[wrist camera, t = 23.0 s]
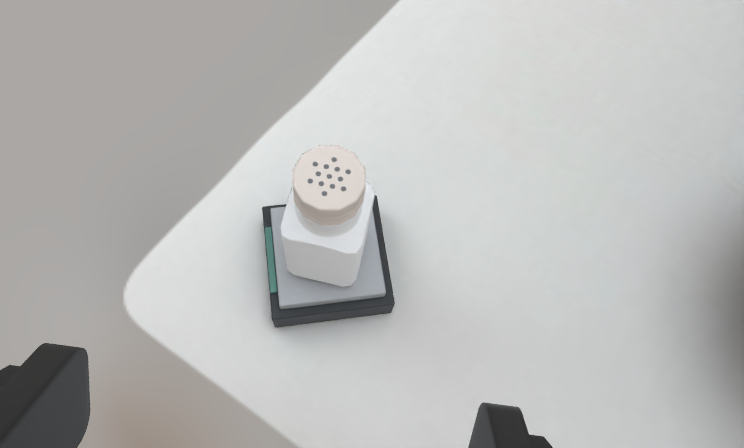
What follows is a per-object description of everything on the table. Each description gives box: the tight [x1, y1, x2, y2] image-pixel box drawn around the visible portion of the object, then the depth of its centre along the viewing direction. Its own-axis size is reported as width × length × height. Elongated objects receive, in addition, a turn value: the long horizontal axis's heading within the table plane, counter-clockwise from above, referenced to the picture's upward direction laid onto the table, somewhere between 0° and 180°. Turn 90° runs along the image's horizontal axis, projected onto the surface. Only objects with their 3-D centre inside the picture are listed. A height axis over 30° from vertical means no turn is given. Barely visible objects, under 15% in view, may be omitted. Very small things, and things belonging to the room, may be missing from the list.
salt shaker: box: [280, 145, 375, 287], centre depth 30 cm, size 4×4×10 cm
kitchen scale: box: [262, 195, 395, 327], centre depth 36 cm, size 7×7×3 cm
